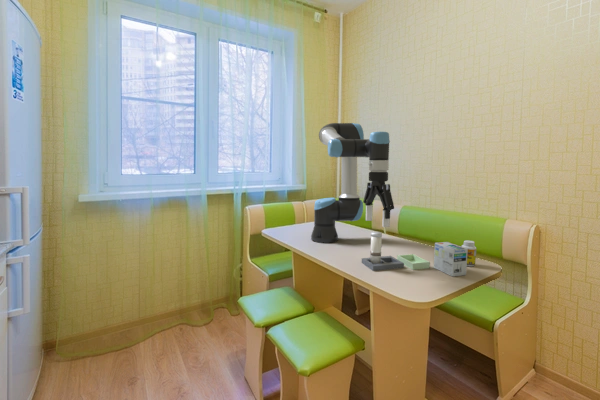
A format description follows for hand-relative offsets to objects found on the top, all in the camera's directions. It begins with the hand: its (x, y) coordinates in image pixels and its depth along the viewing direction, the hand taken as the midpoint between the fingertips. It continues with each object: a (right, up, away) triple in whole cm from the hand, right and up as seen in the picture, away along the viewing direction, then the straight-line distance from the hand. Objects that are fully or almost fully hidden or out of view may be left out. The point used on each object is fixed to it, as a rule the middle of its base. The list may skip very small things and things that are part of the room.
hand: (376, 223), depth 121 cm
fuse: (0, -18, +3) cm, 18 cm away
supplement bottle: (+40, -18, +5) cm, 44 cm away
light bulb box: (+28, -19, -2) cm, 34 cm away
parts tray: (+16, -18, +4) cm, 25 cm away
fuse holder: (+3, -18, +3) cm, 19 cm away
